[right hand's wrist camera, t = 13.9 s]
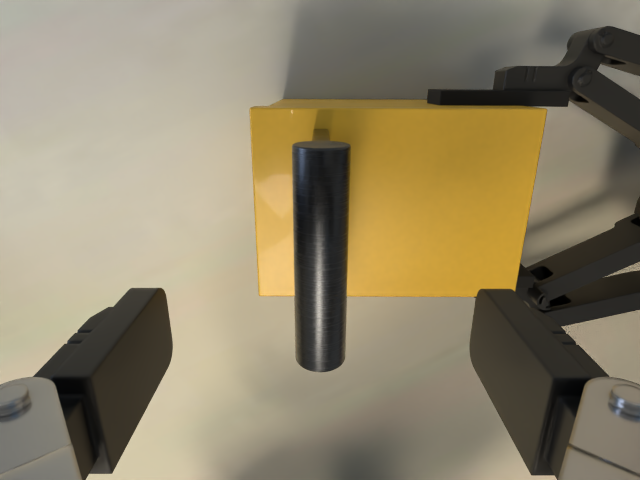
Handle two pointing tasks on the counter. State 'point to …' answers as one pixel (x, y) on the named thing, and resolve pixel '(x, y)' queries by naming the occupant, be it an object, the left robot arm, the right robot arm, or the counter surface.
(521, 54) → the counter surface
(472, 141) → the yellow handled panel
